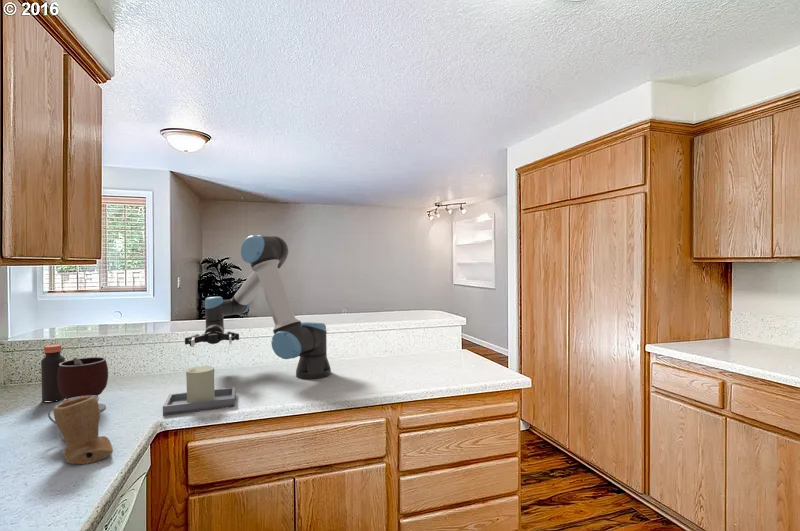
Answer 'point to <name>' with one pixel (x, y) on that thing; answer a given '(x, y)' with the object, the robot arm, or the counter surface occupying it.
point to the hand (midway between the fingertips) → (211, 341)
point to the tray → (180, 405)
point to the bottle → (51, 373)
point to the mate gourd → (83, 377)
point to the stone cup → (82, 430)
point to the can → (200, 384)
